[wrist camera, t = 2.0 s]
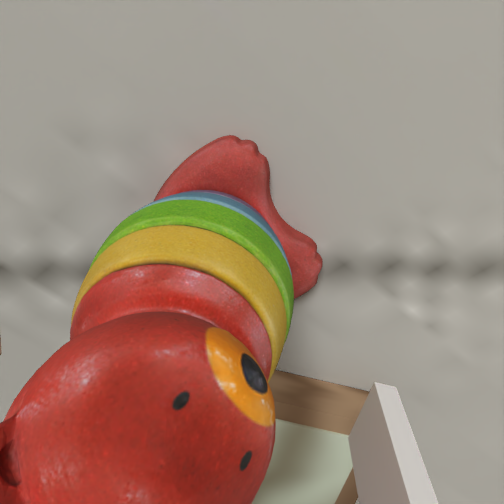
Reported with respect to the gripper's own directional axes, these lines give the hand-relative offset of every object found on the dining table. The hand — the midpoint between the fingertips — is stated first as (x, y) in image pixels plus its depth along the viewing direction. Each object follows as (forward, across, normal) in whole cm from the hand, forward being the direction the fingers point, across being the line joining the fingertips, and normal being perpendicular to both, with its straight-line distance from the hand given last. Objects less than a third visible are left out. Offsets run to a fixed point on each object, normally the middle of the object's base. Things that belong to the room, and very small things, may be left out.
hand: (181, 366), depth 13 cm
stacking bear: (+12, 0, 0) cm, 12 cm away
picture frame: (+12, +6, -16) cm, 21 cm away
